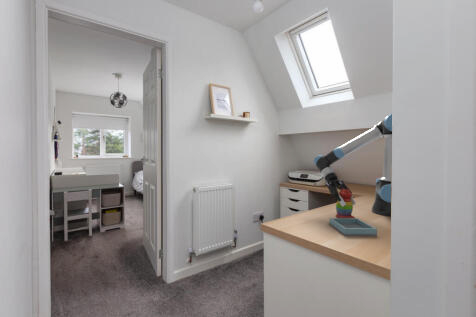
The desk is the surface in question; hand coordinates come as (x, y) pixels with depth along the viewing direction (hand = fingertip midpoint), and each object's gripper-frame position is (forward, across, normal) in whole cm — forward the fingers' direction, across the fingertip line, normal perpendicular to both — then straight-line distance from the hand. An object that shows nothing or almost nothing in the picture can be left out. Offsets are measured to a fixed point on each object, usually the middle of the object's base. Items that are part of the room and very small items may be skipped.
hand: (349, 204), depth 138 cm
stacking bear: (+4, 0, -9) cm, 10 cm away
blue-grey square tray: (+15, +15, +3) cm, 22 cm away
